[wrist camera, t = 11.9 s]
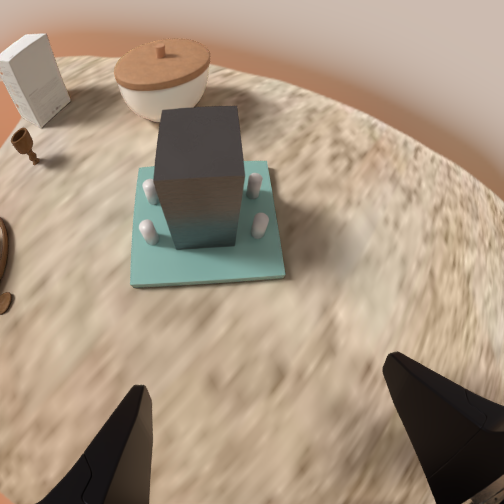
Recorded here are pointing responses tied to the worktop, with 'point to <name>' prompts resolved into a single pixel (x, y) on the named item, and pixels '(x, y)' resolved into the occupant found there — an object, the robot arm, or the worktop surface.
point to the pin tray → (207, 259)
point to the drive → (200, 175)
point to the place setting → (23, 146)
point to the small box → (33, 79)
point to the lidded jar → (163, 76)
